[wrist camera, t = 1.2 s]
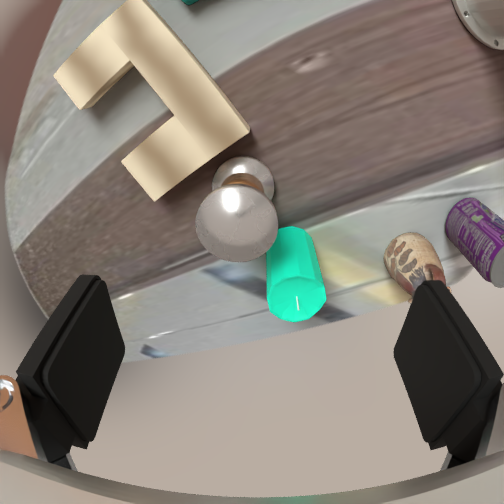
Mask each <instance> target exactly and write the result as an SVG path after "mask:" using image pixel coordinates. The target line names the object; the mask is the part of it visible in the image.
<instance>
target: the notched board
mask: <svg viewBox="0 0 504 504" xmlns="http://www.w3.org/2000/svg"><path fill="white" fill-rule="evenodd" d="M134 66H135V67H136V68H137V70H138V71H139V72H140V73H141V74H142V76H143V77H144V78H145V79H146V81H147V82H148V83H149V84H150V85H151V87H152V88H153V89H154V90H155V92H156V93H157V94H158V95H159V97H160V98H161V99H162V100H163V102H164V103H165V104H166V105H167V107H168V108H169V109H170V110H171V112H172V113H173V114H174V116H173V117H172V118H171V119H169V120H168V121H167V122H166V123H165V124H163V125H162V126H161V127H160V128H159V129H157V130H156V131H155V132H154V133H153V134H151V135H150V136H149V137H148V138H147V139H146V140H145V141H143V142H142V143H141V144H140V145H139V146H138V147H137V148H135V149H134V150H133V151H132V152H131V153H130V154H129V155H128V156H127V157H126V158H124V159H123V160H122V161H121V162H122V163H123V165H124V166H125V167H126V168H127V169H128V171H129V172H130V173H131V174H132V175H133V177H134V178H135V179H136V180H137V181H138V183H139V184H140V185H141V186H142V187H143V189H144V190H145V191H146V192H147V193H148V195H149V196H150V197H151V198H152V199H153V201H154V202H155V201H156V200H157V199H158V198H160V197H161V196H162V195H164V194H165V193H166V192H167V191H169V190H170V189H171V188H173V187H174V186H175V185H176V184H178V183H179V182H180V181H182V180H183V179H184V178H186V177H187V176H188V175H190V174H191V173H192V172H194V171H195V170H196V169H198V168H199V167H201V166H202V165H203V164H205V163H206V162H207V161H209V160H210V159H212V158H213V157H214V156H216V155H217V154H219V153H220V152H221V151H223V150H224V149H226V148H227V147H229V146H230V145H231V144H233V143H234V142H236V141H237V140H239V139H240V138H242V137H243V136H245V135H246V134H248V133H249V132H250V127H249V125H248V124H247V123H246V121H245V120H244V119H243V117H242V116H241V115H240V113H239V112H238V111H237V109H236V108H235V107H234V105H233V104H232V103H231V101H230V100H229V99H228V98H227V96H226V95H225V94H224V92H223V91H222V90H221V89H220V87H219V86H218V85H217V83H216V82H215V81H214V80H213V78H212V77H211V76H210V75H209V73H208V72H207V71H206V70H205V68H204V67H203V66H202V65H201V63H200V62H199V61H198V60H197V58H196V57H195V56H194V55H193V54H192V52H191V51H190V50H189V49H188V48H187V46H186V45H185V44H184V43H183V42H182V40H181V39H180V38H179V37H178V36H177V34H176V33H175V32H174V31H173V30H172V29H171V27H170V26H169V25H168V24H167V23H166V22H165V21H164V19H163V18H162V17H161V16H160V15H159V14H158V13H157V11H156V10H155V9H154V8H153V7H152V6H151V5H150V4H149V2H148V1H147V0H127V1H126V2H125V3H124V4H122V5H121V6H120V7H119V8H118V9H117V10H116V11H115V12H113V13H112V14H111V15H110V16H109V17H108V18H107V19H106V20H105V21H104V22H103V23H102V24H101V25H99V26H98V27H97V28H96V29H95V30H94V31H93V32H92V33H91V34H90V35H89V36H88V37H87V38H86V39H85V40H84V41H83V43H82V44H81V45H80V46H79V47H78V48H77V49H76V50H75V51H74V52H73V53H72V54H71V55H70V57H69V58H68V59H67V60H66V61H65V62H64V63H63V65H62V66H61V67H60V68H59V69H58V70H57V72H56V73H55V74H54V75H53V76H54V77H55V78H56V80H57V81H58V82H59V84H60V85H61V86H62V88H63V89H64V90H65V92H66V93H67V94H68V96H69V97H70V98H71V99H72V101H73V102H74V103H75V105H76V106H77V107H78V108H79V110H82V109H86V108H90V107H93V106H94V104H95V103H96V102H97V101H98V100H99V99H100V98H101V97H102V96H103V95H104V94H105V93H106V92H107V91H108V90H109V89H110V88H111V87H112V86H113V85H114V84H115V83H117V82H118V81H119V80H120V79H121V78H122V77H123V76H124V75H125V74H126V73H127V72H128V71H129V70H130V69H132V68H133V67H134Z"/></svg>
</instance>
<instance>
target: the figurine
mask: <svg viewBox="0 0 504 504" xmlns="http://www.w3.org/2000/svg"><path fill="white" fill-rule="evenodd" d="M384 263H385V265H386V267H387V269H388V272H389V274H390V276H391V277H392V278H393V279H394V280H396V281H397V283H398V284H399V285H400V286H401V287H402V288H403V289H404V290H405V291H406V292H407V293H409V294H410V295H412V298H411V299H409V301H408V302H409V303H410V304H411V303H412V300H413V297H414V294H415V291H416V289H417V287H418V286H419V285H421V283H422V282H423V281H425V280H441V281H442V282H443V283H444V284H445V285H446V280H445V276H444V270H443V267H442V265H441V262H440V260H439V257H438V255H437V253H436V251H435V249H434V247H433V246H432V244H431V243H430V242H429V241H428V240H427V239H426V238H425V237H424V236H422V235H420V234H418V233H411V232H410V233H405V234H402V235H400V236H398V237H396V238H395V239H393V240H392V241H391V243H390V244H389V246H388V247H387V249H386V250H385V253H384ZM447 288H448V290H449V291H450V292H451V289H450V287H447Z"/></svg>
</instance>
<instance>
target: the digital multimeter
mask: <svg viewBox="0 0 504 504" xmlns="http://www.w3.org/2000/svg"><path fill="white" fill-rule="evenodd" d="M182 1H183V2H184V3H185V4H186V5H191V4H193V3H195V2H197V1H199V0H182Z"/></svg>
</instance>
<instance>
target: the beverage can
mask: <svg viewBox="0 0 504 504" xmlns="http://www.w3.org/2000/svg"><path fill="white" fill-rule="evenodd" d="M446 234H447V236H448V238H449V239H450V240H451V242H452V243H453V244H454V245H455V246H456V247H457V248H458V249H459V250H460V252H461V253H462V254H463V255H464V256H465V257H466V258H467V259H468V261H469V262H470V263H471V264H472V265H473V266H474V268H475V269H476V270H477V271H478V272H479V274H480V275H481V276H482V277H483V278H484V279H485V280H486V281H488V282H491V283H493V284H494V286H496V287H499V288H502V287H504V220H502V219H501V218H500V217H499V216H498V215H496V214H495V213H494V212H493V211H491V210H490V209H489V208H488V207H486V206H485V205H484V204H482V203H481V202H480V201H478V200H477V199H475V198H465V199H463V200H461V201H459V202H458V203H457V204H455V205H454V207H453V208H452V209H451V211H450V212H449V215H448V217H447V220H446Z"/></svg>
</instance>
